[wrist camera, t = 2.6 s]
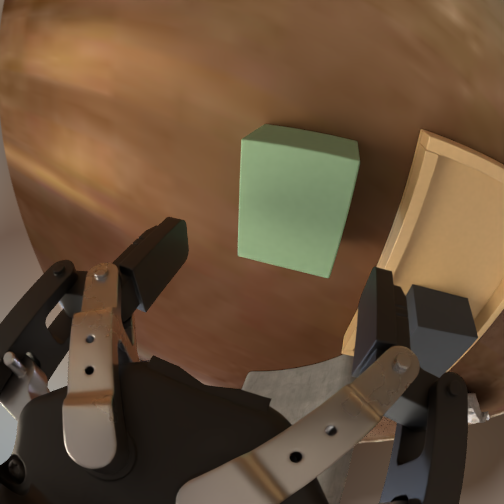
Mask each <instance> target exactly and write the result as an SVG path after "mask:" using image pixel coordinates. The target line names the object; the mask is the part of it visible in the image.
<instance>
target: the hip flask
mask: <svg viewBox="0 0 504 504" xmlns="http://www.w3.org/2000/svg"><path fill="white" fill-rule="evenodd" d="M353 359H354V356H350V355H345V354H344V355H341V356H338V357H336V358H333V359H330V360H327V361H324V362H321V363H317V364H313V365H309V366H305V367H299V368H294V369H287V370H278V371H252V372H249V373H248V375H247V377H246V380H245V382H244V385H243V387H242V390H244V391H247V392H251V393H254V394H257V395H260V396H264V397H267V398H271V402H270V405H269V406H270V407H272V408H274V409H275V410H277V411H278V412H279V413H281V414H282V415H283V416H284V417H285V418H286V419H287V420H288V421H289V422H290V423H291V424H292V425H293V424H295V423H296V422H298V421H299V420H300V419H302V418H303V417H305V416H306V415H307V414H309V413H310V412H312V411H313V410H314V409H316V408H317V407H318V406H320V405H321V404H322V403H323V402H325V401H326V400H327V399H329V398H330V397H331V396H332V395H334V394H335V393H336V392H337V391H339V390H340V389H341V388H342V387H344V386H345V385H347V384H348V385H349V384H350V383H352V382H353V381H354V380H355V379H356V378H357V377H352V376H351V374H352V367H353ZM352 451H353V448H352V449H350V450H349V451H348V452H347V453H346V454H345V455H344V456H342V457H341V458H340V459H339V460H338V461H336V462H335V463H334V464H333V465H332V466H330V467H329V468H328V469H327V470H325V471H324V472H323V473H321V474H320V475H319V476H318V477H317V479H318V481H319V483H320V485H321V487H322V489H323V492H324V494H325V496H326V498H327V500H328V502H329V504H339V503H340V500H341V496H342V493H343V489H344V485H345V482H346V478H347V473H348V469H349V465H350V461H351V456H352Z"/></svg>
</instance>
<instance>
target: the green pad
mask: <svg viewBox="0 0 504 504" xmlns="http://www.w3.org/2000/svg"><path fill="white" fill-rule="evenodd" d="M359 166H360V157H359V149H358V142H357V141H355V140H351V139H346V138H342V137H337V136H333V135H328V134H323V133H318V132H313V131H307V130H301V129H296V128H289V127H283V126H276V125H269V124H264V125H263V126H261V127H260V128H258V129H257V130H255V131H253V132H252V133H250V134H249V135H247V136H246V137H244V138H243V139H242V141H241V167H240V194H239V226H238V256H241V257H245V258H249V259H253V260H257V261H261V262H265V263H269V264H273V265H277V266H281V267H285V268H289V269H293V270H297V271H301V272H305V273H309V274H313V275H317V276H321V277H325V278H329V277H330V274H331V271H332V268H333V264H334V261H335V258H336V255H337V251H338V248H339V244H340V241H341V237H342V234H343V230H344V226H345V223H346V219H347V215H348V211H349V208H350V204H351V200H352V196H353V192H354V187H355V183H356V179H357V175H358V170H359Z"/></svg>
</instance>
